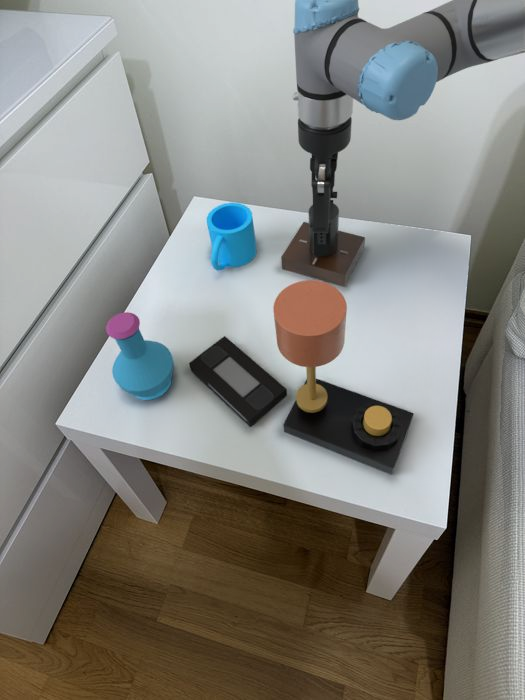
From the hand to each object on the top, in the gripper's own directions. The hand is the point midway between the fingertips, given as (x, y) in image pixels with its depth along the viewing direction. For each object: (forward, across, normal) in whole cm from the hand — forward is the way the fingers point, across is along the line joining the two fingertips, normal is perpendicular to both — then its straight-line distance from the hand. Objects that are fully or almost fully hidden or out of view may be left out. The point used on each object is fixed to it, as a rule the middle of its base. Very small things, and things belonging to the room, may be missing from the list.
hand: (323, 241), depth 91 cm
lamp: (0, +32, +1) cm, 32 cm away
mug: (+4, +1, -17) cm, 18 cm away
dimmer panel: (+4, 0, 0) cm, 4 cm away
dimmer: (+1, 0, 0) cm, 1 cm away
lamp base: (+4, +33, +6) cm, 34 cm away
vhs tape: (+4, +28, -11) cm, 30 cm away
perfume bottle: (+4, +29, -25) cm, 38 cm away
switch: (+1, +35, +10) cm, 36 cm away
